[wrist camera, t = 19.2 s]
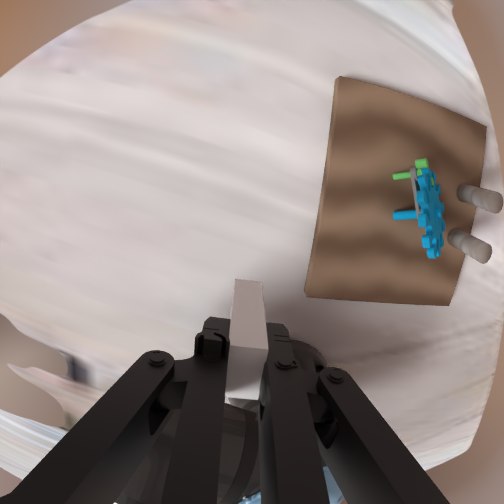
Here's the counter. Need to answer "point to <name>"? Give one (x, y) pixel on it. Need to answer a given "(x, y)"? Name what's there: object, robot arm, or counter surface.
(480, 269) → the counter surface
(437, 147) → the dowel plate
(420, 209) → the gear
